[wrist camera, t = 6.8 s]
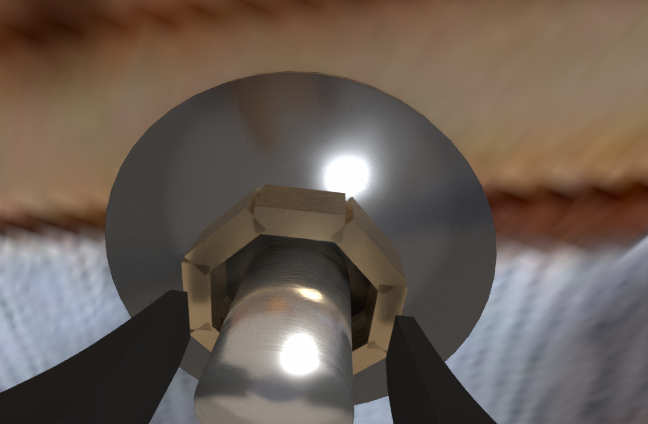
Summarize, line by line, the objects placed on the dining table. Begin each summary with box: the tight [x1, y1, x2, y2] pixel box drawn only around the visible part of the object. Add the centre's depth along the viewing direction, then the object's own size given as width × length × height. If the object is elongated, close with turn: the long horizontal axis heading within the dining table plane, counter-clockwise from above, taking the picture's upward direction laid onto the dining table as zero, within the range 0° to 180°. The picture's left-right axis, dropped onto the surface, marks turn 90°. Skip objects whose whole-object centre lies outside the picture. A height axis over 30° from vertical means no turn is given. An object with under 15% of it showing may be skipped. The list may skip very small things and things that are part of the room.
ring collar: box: [105, 71, 497, 405], centre depth 15 cm, size 16×16×3 cm
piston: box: [194, 237, 354, 424], centre depth 13 cm, size 4×4×6 cm
